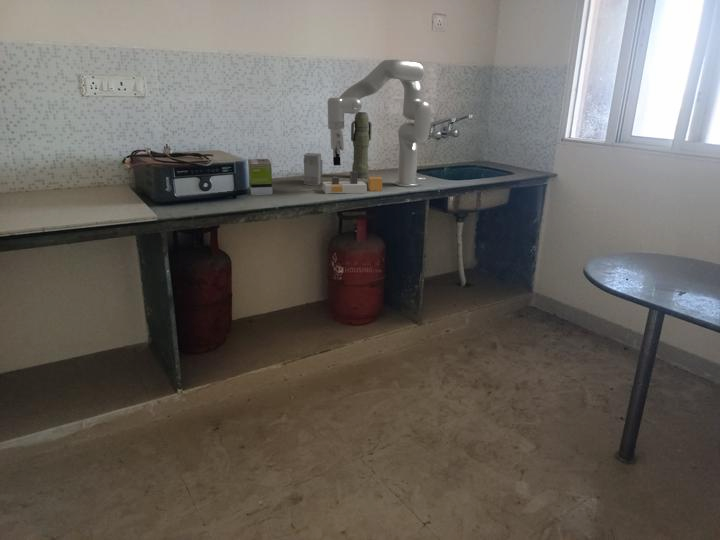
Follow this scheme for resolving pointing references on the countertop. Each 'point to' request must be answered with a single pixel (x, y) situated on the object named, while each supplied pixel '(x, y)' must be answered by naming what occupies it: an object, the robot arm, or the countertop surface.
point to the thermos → (361, 143)
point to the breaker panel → (344, 187)
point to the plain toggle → (353, 177)
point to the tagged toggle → (335, 180)
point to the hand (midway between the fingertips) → (336, 165)
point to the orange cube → (375, 183)
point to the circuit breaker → (312, 168)
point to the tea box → (260, 176)
